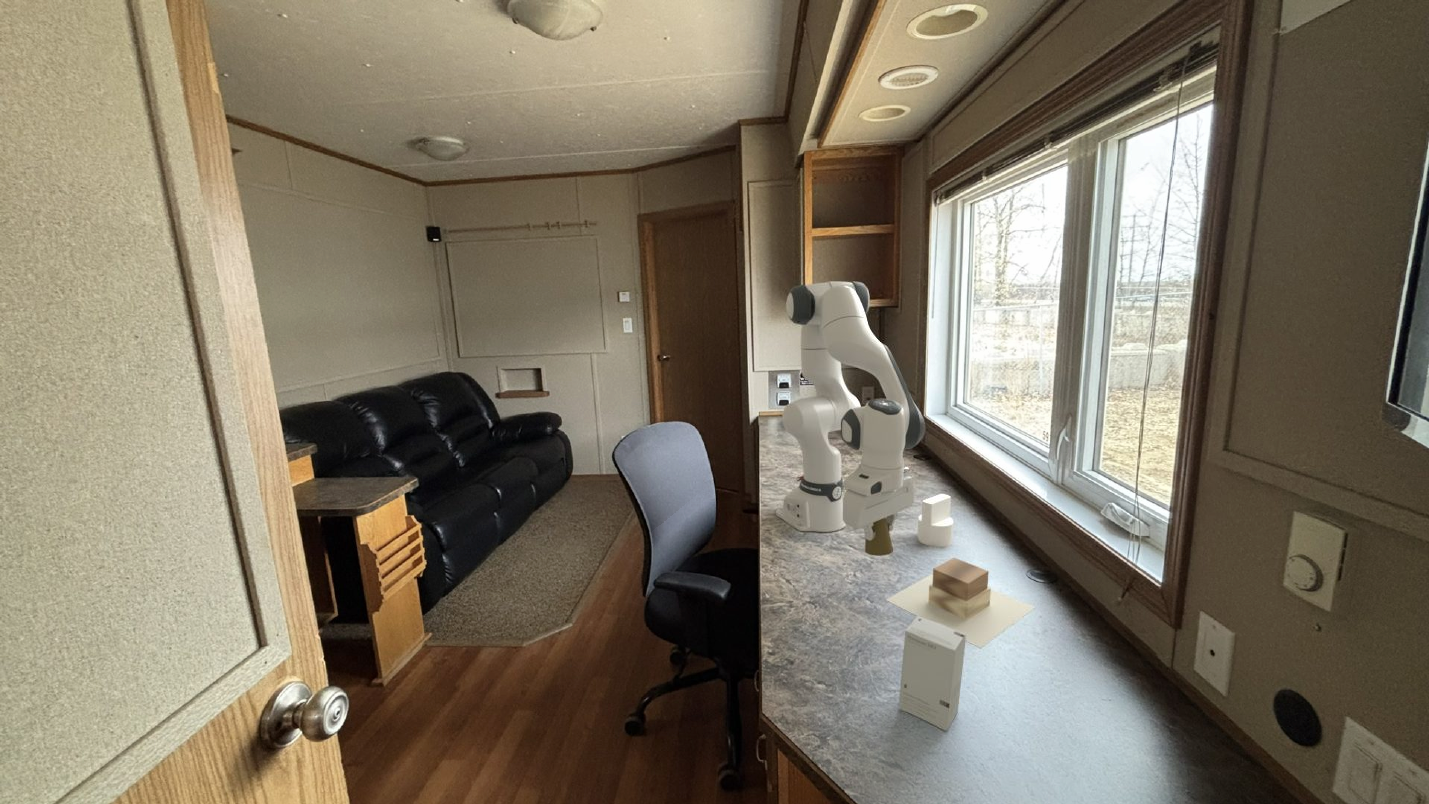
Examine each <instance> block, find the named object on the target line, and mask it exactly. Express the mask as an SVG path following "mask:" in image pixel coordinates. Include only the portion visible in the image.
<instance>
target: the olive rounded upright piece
mask: <svg viewBox="0 0 1429 804" xmlns="http://www.w3.org/2000/svg"><path fill="white" fill-rule="evenodd" d="M871 528H872V530H873V531H875V532H876V535H875V539H873V540H867V539H866V538H865V537H864V539H865V541H864V542H865V543H864V544H865V545H864V551H865V554H868V555H871V556H876V557H877V556H878V557H880V556H881V557H883V556H888V555H890V554H892V553H893V552H894V546H893V543H892V538H891V534H890V532H889V529H888V525H887V521H886V517H885V518H883V519H880V520H878V521H876V522H873V526H872V527H871Z"/></svg>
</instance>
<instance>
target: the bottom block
mask: <svg viewBox="0 0 1429 804" xmlns="http://www.w3.org/2000/svg"><path fill="white" fill-rule="evenodd" d="M991 589H992V588H991V587H987V589H985V590H984V591H982V592H981V593H979V594H978V595H976V596H974V597H973V598H971V599H970V600H968V601H966V600H963V599H961V598H959V597H957V596H955V595H952V594H950V593H948V592H946V591H943V590H941V589H939V588H937V587H935V586H933V584H931V585H929V601H928V602H930V603H932V604H934V605H936V606H938V607H940V608H942V609H944V610H946V611H948V612H950V613H953V614H955V615H957V616H959V617H961V618H963V619H965V620H968V619H970V618H971V617H973V616H974V615H976V614H977V613H979V612H980V611H982V610H983V609H985V608H986V607H988V606H989V605H990V595H991Z"/></svg>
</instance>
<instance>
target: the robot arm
mask: <svg viewBox="0 0 1429 804" xmlns="http://www.w3.org/2000/svg"><path fill="white" fill-rule="evenodd" d="M870 298H871V297H870V293H869V289H868V287H867V285H865V284H864V283H863V282H861V281H856V280H855V281H853V280H850V281H835V280H833V281H832V280H831V281H826V282H817V283H811V284H807V285H805V284H800V285H796V286H794V287H792V288H791V289H790V290H789V292H788V294H787V298H786V304H785V307H786V312H787V316H788V318H789V320H790V321H791V322H792V323H793V324H796V325H801V330H800V331H801V332H800V356H801V357H800V360H801V361H800V362H801V365H800V366H801V375H802V377H803V378H804V379H805V380H806V381H808V382H810V383H811V384H813V386H814V388H815V391H816V395H815V396H808V397H804V398H803V397H801V398H799V399H797V400H794V401H792V402H790V403H788V404H786V405H785V407H784V408H783V411H782V416H781V418H782V424H783V425H782V426H783V428H784V429H785V430H786V432H787V433H788V434H789V435H790V436H792V437H794V439H795V440H796V441H797V443H798V444H799V446H800V449H801V454H802V464H803V465H802V466H803V467H802V468H803V473H802V476H798V477H796V479H797V480H796V481H797V482H799V486H797V487H796V488H795V489H793V490H791V491H790V492H789V493H787V494H786V495H785V496H784V498H783V502H782V503H783V504H782V506H781V507H779V508H778V509H776V511H775V515H776V516H777V517H779V518H780V519H782V520H783V521H785V522H786V523H787V524H789V525H791V526H792V527H793V528H795V529H797V531H800V532H820V533H821V532H822V533H824V532H825V533H827V532H828V533H829V532H835V531H838V530H841V529H843V528H845V527H846V526H847V527H848V526H849V527H850V528H851V529H852V528H853V529H855V530H858V529H859V530H860V529H861V528H862V529H863V531H864V539H865V538H866V539H867V540H873V539H875V535H876V532H875V531H873V530H872V528H871V527H872V526H873V522H876V521H878V520H880V519H883V518H885V517H886V521H887V525H888V529H889V533H890V532H892V531H894V524H895V522H896V520H897V518H898V513H899V512H903V511H904V510H906V509H908V508H911V507H913V505H914V502H915V482H914V479H913V477H912V475H913V471H912V469H911V468H909V467H908V466H905V461H904V454H903V453H904V450H905V449H908V450H909V449H911V450H912V449H913V448H914V447H916V446H917V445H918V444H919V443H920V442H921V440H922V439H923V437H924V436H925V433H926V422H925V418H924V416H923V415H922V412H921V411H920V409H919V408H918V406H917V405H916V403H915V402H914V400H913V398H912V396H911V393H910V391H909V389H908V386H907V384H906V382H905V379H904V378H903V375H902V373H901V371H900V369H899V366H898V365H897V364H898V363H897V362H896V360H895V357H894V356H893V354H892V352H891V350H890V349H889V347H888V346H887V345H886V344H885V343H882V342H880V340H879V339H877V337H876V335H875V334H874V333H873V332H872V330H871V329H870V326H869V323H868V319H867V314H868V312H869V310H870V305H871V304H870V303H871V302H870V301H871V300H870ZM842 364H843V365H847V366H850V367H853V368H858V369H859V370H862V371H866V372H867V373H869V374H871V375H873V376H874V377H875V378H876V379H877V381H879V384H880V386H881V389H882V392H883V393H884V396H885V397H886V398H874V399H870V400H868V401H867V402H866V404H865V405H863V406H862V405H861V403H860V401H859V400H858V398H857V397H856V395H854V394H853V393H852V392H851V391H850V390H849V389H848V387H847V385H846V383H845V379H844V377H843V372H842ZM836 431H837V432H838V431H840V436H841V437H840V438H841V440H842V442H844V443H845V444H846V445H847V446H848V447H849V448H850V449H852V450H855V451H860V452H861V454H862V455H861V460H860V465H859V466H858V467H857V468H855V470H854V471H853V472H852V473H851V474H849V475H847V477H845V478H844V479H843V477H842V454H841V452H840V450H839V449H838V448H837V447H836V446H835V445H832V444H830V441H829V437H828V435H829V433H831V432H836ZM843 480H844V481H843ZM843 488H845V489H847V490H846V491H845V492H844V495H843V490H844V489H843Z"/></svg>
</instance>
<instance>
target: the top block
mask: <svg viewBox="0 0 1429 804" xmlns="http://www.w3.org/2000/svg"><path fill="white" fill-rule="evenodd" d="M932 570H933V571H932V574H933V586H935V587H937V588H939V589H941V590H943V591H946V592H948V593H950V594H952V595H955V596H957V597H959V598H961V599H963V600H966V601H968V600H970V599H971V598H973V597H974V596H976V595H978V594H979V593H981V592H982V591H984V590H985V589H987V587H988V586H989V573H990V572H989V570H987V569H984V568H981V567H979V566H976V565H974V564H971V563H968V562H966V561H963V560H961V559H958V558H957V557H952V558H951V559H949V560H947V561H945V562H944V563H941V564H939V565H938V566H936V567H934V568H933V569H932Z"/></svg>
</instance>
